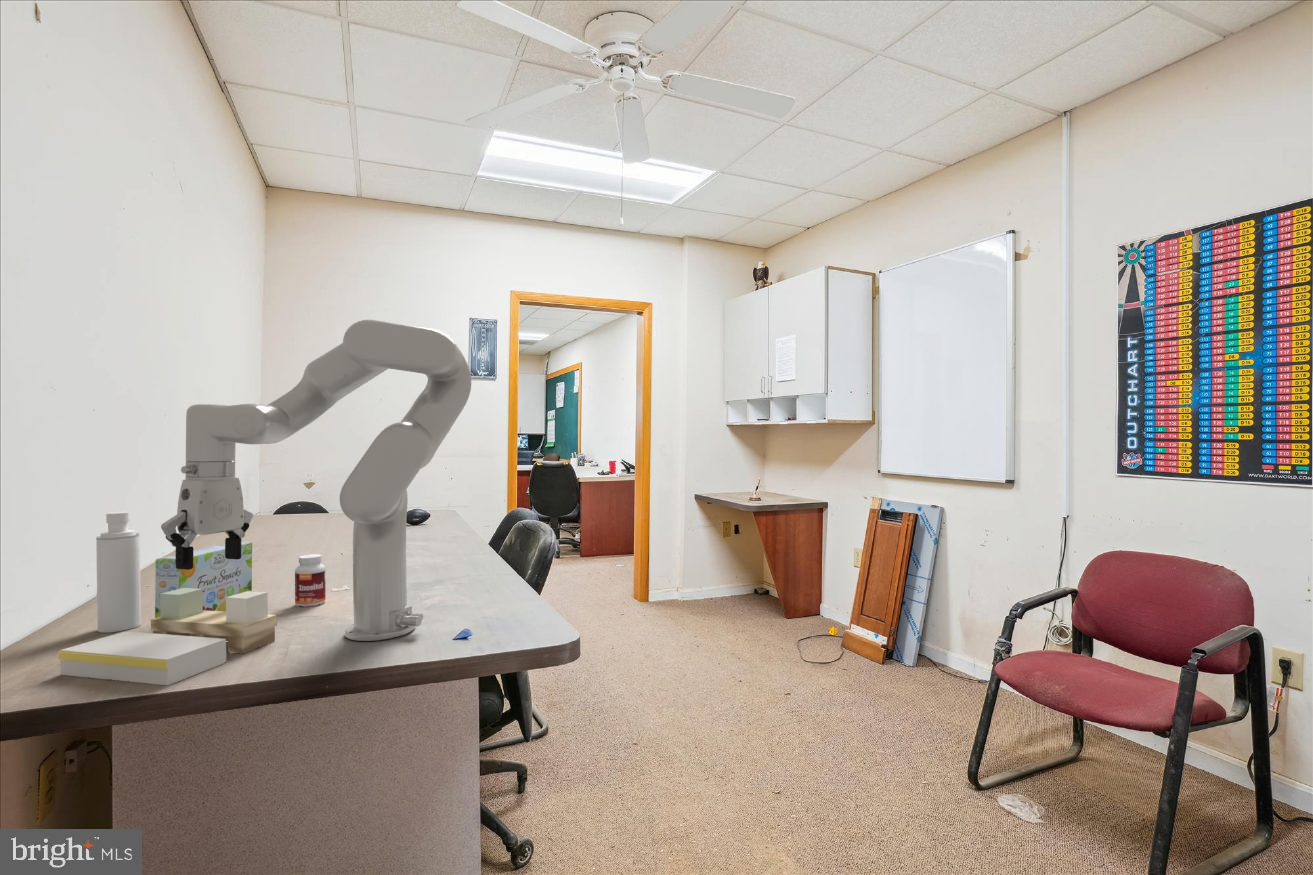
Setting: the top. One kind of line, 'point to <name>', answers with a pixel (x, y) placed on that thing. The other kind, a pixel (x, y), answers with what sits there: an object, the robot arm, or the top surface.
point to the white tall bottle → (118, 576)
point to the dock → (143, 657)
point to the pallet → (220, 629)
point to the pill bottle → (310, 581)
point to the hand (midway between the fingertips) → (209, 563)
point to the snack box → (207, 576)
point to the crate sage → (181, 603)
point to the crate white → (246, 607)
